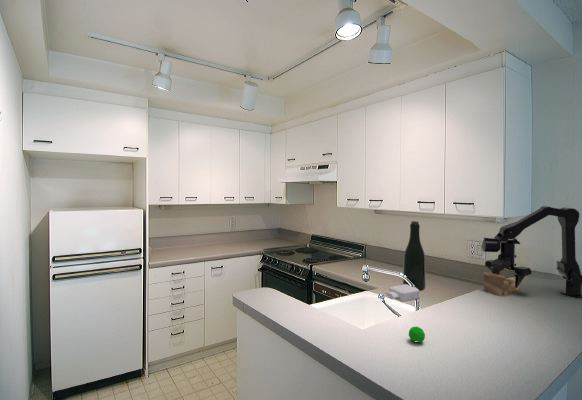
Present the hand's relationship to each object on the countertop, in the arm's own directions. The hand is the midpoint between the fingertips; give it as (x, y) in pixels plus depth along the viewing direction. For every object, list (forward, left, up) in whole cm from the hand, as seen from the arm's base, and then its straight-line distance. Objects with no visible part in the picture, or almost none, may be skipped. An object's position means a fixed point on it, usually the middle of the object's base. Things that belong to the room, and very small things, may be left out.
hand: (506, 285), depth 156 cm
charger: (+54, -13, -3) cm, 55 cm away
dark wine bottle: (+37, -21, -3) cm, 43 cm away
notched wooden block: (+7, 0, -2) cm, 8 cm away
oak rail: (0, 0, -2) cm, 3 cm away
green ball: (+76, +20, -3) cm, 79 cm away
